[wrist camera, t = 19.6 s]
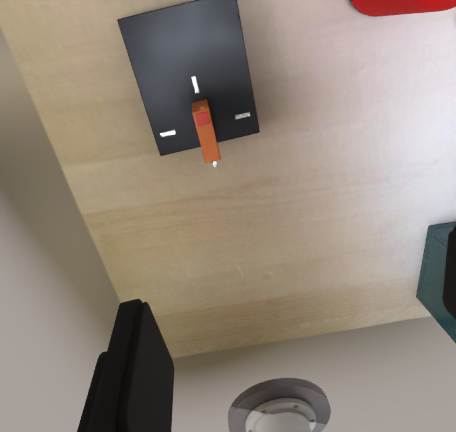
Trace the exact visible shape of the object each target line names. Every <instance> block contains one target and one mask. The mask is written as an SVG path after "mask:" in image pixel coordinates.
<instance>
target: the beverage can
mask: <svg viewBox="0 0 456 432" xmlns="http://www.w3.org/2000/svg"><path fill="white" fill-rule="evenodd" d="M350 1H351V3H352V4H353V6H354V7H355V8H356V9H357V10H358V11H359V12H361V13H363V14H365V15H368V16H388V15H400V14H412V13H424V12H436V11H444V10H448V9H451V8H453V7H456V0H350Z"/></svg>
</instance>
